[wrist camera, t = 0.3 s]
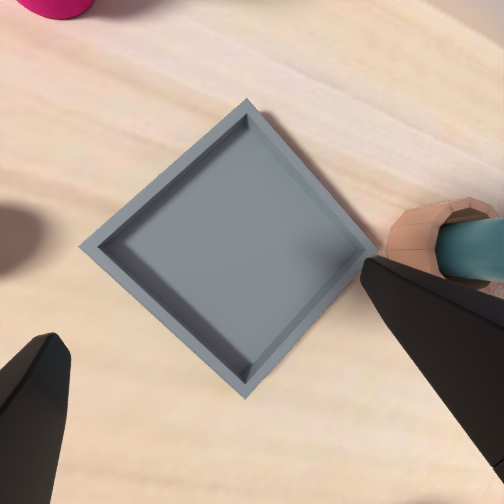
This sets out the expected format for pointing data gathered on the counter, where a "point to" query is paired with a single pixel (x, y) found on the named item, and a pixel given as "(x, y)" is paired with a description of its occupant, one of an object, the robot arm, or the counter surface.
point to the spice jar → (472, 249)
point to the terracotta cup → (435, 236)
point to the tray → (234, 248)
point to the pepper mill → (57, 7)
